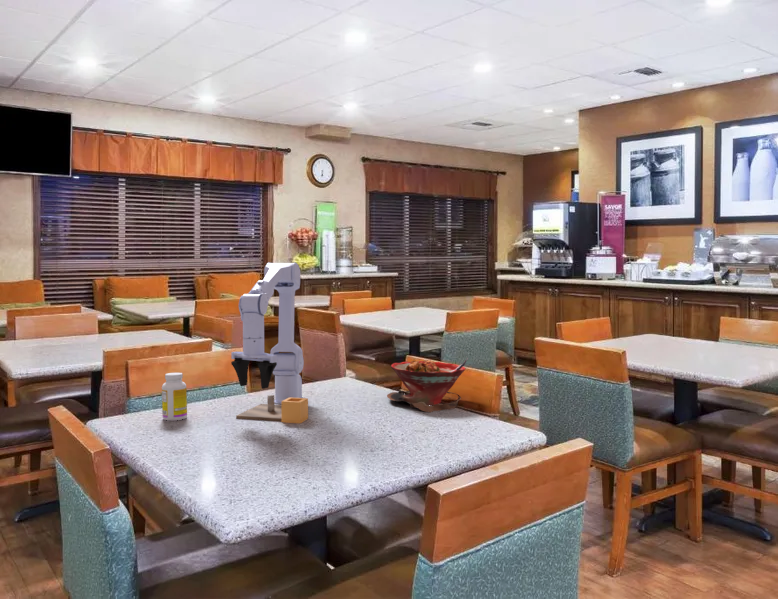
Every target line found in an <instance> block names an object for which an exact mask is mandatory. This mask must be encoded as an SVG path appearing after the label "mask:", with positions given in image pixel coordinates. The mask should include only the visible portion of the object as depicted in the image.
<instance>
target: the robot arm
mask: <svg viewBox="0 0 778 599" xmlns="http://www.w3.org/2000/svg"><path fill="white" fill-rule="evenodd" d="M263 273H264V275H263V276H264V277H263V279H262V280H261V279H260V280H259V279H258V281H257V282H255V283H254V285H253V286H252V288H251V289H250V291H249V292H248V293H244V294H243V295H241V296H240V298H239V300H238V311H239V313H240V321H241V322H242V351H231V352H230V353H231V360H233V361H230V362H231V363H230V365H231V366H232V367H233V369H234V370H235V373H236V375H237V376H236V377H237V380H238V382H239V383H238V384H239V386H240V387H245V386H247V385H248V380H249V379H248V375H249V374H248V371H249V368H250V367H249V366H250V362H251V361H252V362H253V361H256V362H258V363H257V366H258V370H259V373H260V386H261V389H264V390H265V389H269V386H270V382H271V377H272V375H273V376H274V405H281V401H283V400H285V399H287V398H289V397H292V398H306V397H304V396H303V379H302V376H301V375H300V373H302V371H303V370H304V364H305V360H304V356H303V355H304V354H303V353H304V352H303V349H302V347H300V346H299V345H298V344H297V343H296V342H295V304H296V302H295V299H296V298H295V297H296V291H298V290H299V289H300V288H301V287H300V286H301V269H300V266H299V264H298V263H297V262H267V263H266V265H265V266H264V269H263ZM275 290H276V291H277V292H278V298H279V299H278V342H277V344H275V345H274V346H273V347H272V348H271V349H270V353H267V352H265V315H266V313H267V311H268V307H269V301H270V299H271V298H272V297H273V295H274V293H275Z"/></svg>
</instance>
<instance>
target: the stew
mask: <svg viewBox="0 0 778 599" xmlns="http://www.w3.org/2000/svg"><path fill="white" fill-rule="evenodd" d="M468 359H469V357H467V358H466V359H465V360H464V362H463V363H461V364H456V363H450V362H449V363H448V362H447V363H446V362H441V361H436V362H435V361H432V360H431V359H430V360H415V359H414V360H411V361H401V362H393V363H392V364H391V365H390V367H391V369H392V370H393V371H394V372H395V373H396V375H397V376H398V378H399V379H400V381H401V382H402V383H403V385H404V386H405V388H406V389H407V390H406V391H404V390H401V388H402V387H401V386H397V387H393V388H392V392H390V393H387V395H386V396H387V398H388V399H389V400H391V401H394V402H395V401H396V402H405V403H407V404H409V407H410V408H413V409H414V408H417V409H418V410H420V411H423V412H426V413H433V411H434V412H440V411H448V410H449V411H450V410H454V409H455V408H458V405H459V404H458V403H459V401H460V400H461V399H462V397H461V395H460V394H457V393H456V392H451V391H450V390H451V389H452V387H453V386H454V385H455V383H456V382H457V381H458V379H459V378H460V376H462V374H463V373H464V371H466V367H465V365H466V363H467V362H468ZM398 388H399V391H398V392H396V391H394V390H395V389H398ZM446 394H452V395H456V396H457V397H458V398H457V399H455V400H452V401H449V402H446V403H445V402H444V403H442V401H443V398H444V397H445V395H446ZM448 399H451V398H448ZM429 405H432V406H429Z"/></svg>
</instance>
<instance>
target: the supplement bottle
mask: <svg viewBox="0 0 778 599" xmlns="http://www.w3.org/2000/svg"><path fill="white" fill-rule="evenodd" d="M183 377H184V376H183V372H169V373H168V372H167V373H165V375H164V379H165V382H164V383H163V384H162V386H161V403H162V404H161V406H162V407H161V408H162V410H161V411H162V419H163V420H164V421H166V420H167V421H166V422H177V420H178V421H182V419H183V420H186V419H187V417H188V399H187V398H188V397H187V395H188V394H187V393H188V391H187V384H186V382H184V381H183Z"/></svg>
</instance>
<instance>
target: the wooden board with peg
mask: <svg viewBox="0 0 778 599" xmlns="http://www.w3.org/2000/svg"><path fill="white" fill-rule="evenodd" d="M266 397H267V403H260V404H258V405H256V406H253V407H252V408H249V409H247V410H246V411H243V412H240V413H239V414H237V415H235V418H236V420H237V419H238V420H253V421H266V422H267V421H268V422H269V421H271V422H282V412H281V404H274V400H275V394H268V395H267V396H266Z"/></svg>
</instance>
